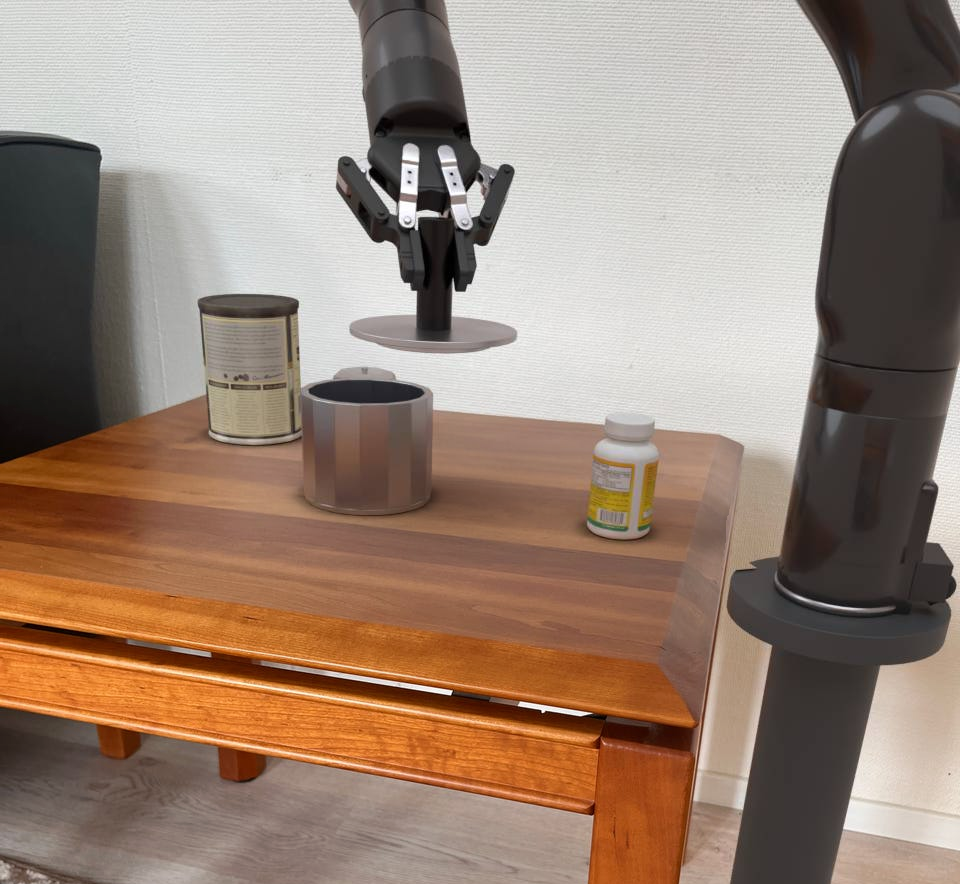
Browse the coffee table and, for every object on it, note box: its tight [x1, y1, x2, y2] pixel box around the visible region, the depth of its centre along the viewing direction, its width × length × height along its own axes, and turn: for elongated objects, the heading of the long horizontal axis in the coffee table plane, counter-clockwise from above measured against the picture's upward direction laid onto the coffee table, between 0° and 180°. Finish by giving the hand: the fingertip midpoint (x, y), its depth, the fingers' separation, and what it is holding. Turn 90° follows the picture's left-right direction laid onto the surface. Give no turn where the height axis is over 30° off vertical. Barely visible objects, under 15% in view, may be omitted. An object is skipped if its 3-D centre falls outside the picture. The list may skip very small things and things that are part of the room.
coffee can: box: [197, 293, 302, 446], centre depth 109 cm, size 10×10×14 cm
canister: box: [300, 378, 434, 516], centre depth 91 cm, size 11×11×10 cm
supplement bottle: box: [586, 412, 660, 541], centre depth 85 cm, size 5×5×10 cm
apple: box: [332, 365, 397, 380], centre depth 116 cm, size 8×8×7 cm
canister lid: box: [348, 216, 518, 355], centre depth 74 cm, size 12×12×9 cm
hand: (440, 283), depth 72 cm, fingers closed on canister lid, 2 cm apart
